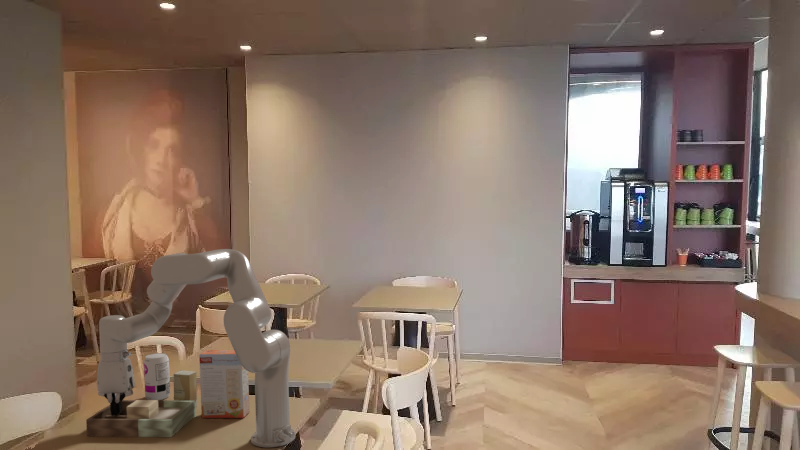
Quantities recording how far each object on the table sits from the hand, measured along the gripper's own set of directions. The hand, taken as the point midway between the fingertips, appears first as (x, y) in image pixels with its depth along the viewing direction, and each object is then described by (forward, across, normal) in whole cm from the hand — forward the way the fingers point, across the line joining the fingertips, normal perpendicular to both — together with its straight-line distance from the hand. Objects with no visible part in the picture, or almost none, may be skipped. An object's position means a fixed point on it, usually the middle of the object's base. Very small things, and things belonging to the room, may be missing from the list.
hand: (116, 413), depth 186 cm
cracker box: (+4, -31, -9) cm, 33 cm away
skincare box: (+4, -15, -15) cm, 22 cm away
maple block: (+1, -8, 0) cm, 9 cm away
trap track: (+4, -8, 0) cm, 9 cm away
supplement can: (+4, 0, -26) cm, 26 cm away
